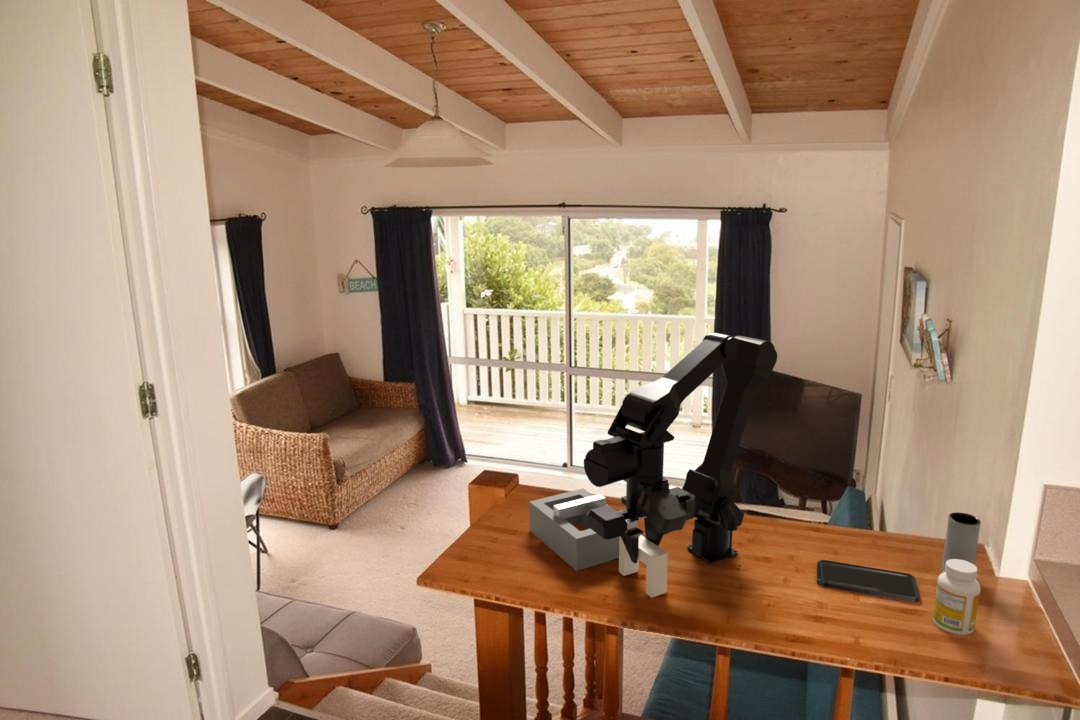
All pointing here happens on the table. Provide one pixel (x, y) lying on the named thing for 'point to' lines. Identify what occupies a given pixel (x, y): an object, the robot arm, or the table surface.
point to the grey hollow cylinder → (961, 538)
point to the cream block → (655, 565)
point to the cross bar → (578, 506)
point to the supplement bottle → (957, 597)
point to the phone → (867, 580)
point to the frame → (570, 533)
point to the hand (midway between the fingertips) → (642, 559)
